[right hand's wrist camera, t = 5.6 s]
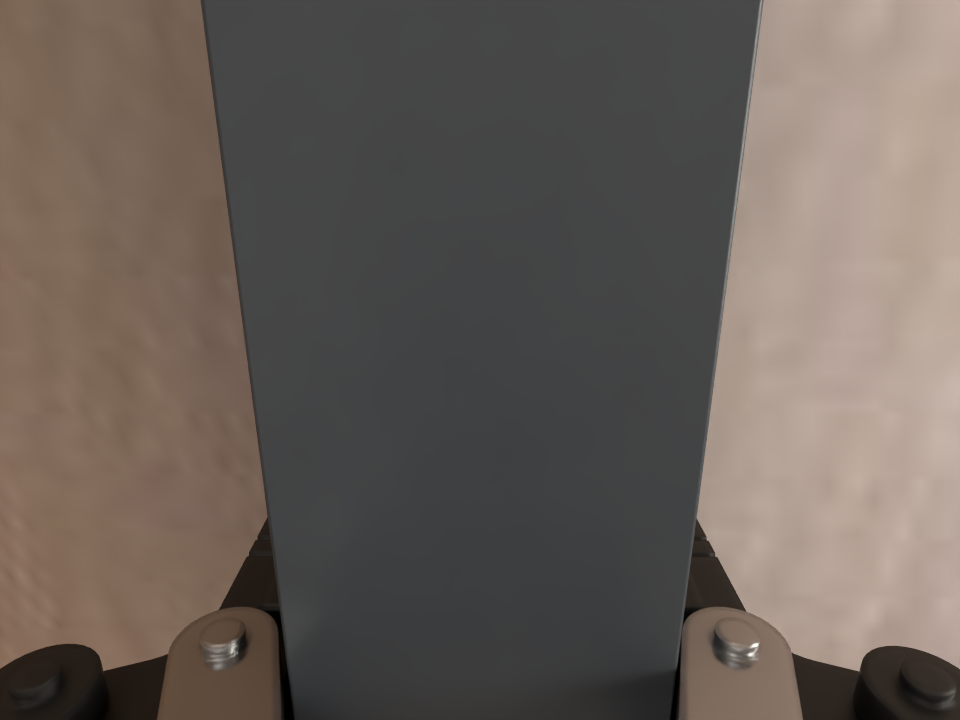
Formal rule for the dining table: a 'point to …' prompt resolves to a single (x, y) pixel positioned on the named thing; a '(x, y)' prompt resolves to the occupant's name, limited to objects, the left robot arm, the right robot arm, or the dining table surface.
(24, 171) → the dining table surface
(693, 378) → the bar
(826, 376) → the dining table surface
